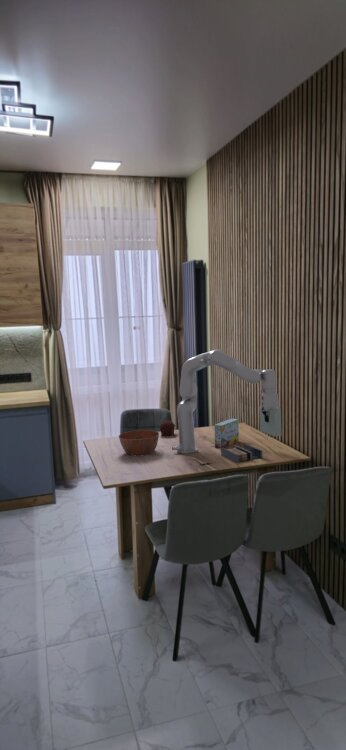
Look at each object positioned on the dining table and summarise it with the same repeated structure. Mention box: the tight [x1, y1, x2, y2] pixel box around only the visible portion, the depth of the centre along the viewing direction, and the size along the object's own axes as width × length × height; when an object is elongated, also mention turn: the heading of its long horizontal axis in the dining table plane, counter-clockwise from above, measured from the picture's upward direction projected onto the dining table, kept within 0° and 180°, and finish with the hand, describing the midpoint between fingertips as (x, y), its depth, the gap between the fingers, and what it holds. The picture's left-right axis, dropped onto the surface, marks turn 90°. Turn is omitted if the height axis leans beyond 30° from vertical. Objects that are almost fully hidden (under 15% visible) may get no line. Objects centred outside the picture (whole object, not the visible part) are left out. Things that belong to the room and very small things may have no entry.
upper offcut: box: [226, 447, 247, 458], centre depth 293 cm, size 6×14×2 cm, turn 23°
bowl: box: [118, 429, 160, 457], centre depth 317 cm, size 25×25×11 cm
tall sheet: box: [258, 405, 282, 437], centre depth 300 cm, size 4×16×15 cm, turn 24°
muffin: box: [159, 420, 176, 437], centre depth 359 cm, size 12×11×10 cm
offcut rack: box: [220, 443, 264, 464], centre depth 294 cm, size 17×18×6 cm
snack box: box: [213, 418, 240, 449], centre depth 325 cm, size 21×6×15 cm, turn 143°
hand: (270, 421), depth 300 cm, fingers closed on tall sheet, 4 cm apart
